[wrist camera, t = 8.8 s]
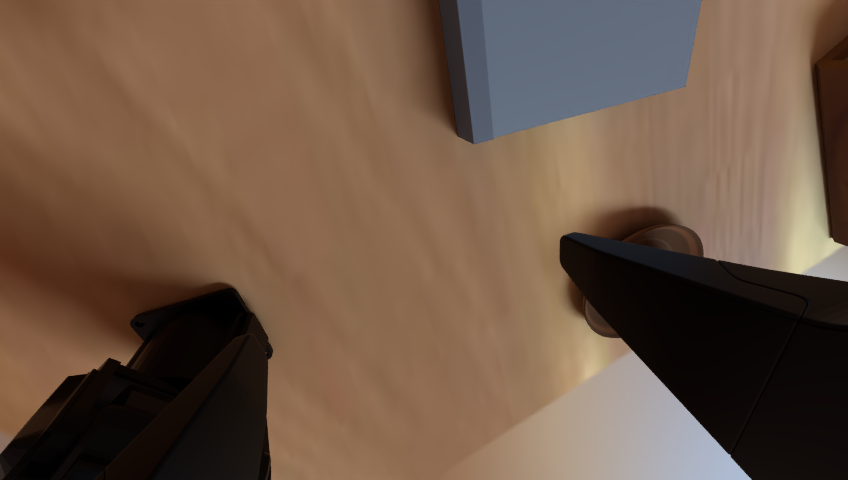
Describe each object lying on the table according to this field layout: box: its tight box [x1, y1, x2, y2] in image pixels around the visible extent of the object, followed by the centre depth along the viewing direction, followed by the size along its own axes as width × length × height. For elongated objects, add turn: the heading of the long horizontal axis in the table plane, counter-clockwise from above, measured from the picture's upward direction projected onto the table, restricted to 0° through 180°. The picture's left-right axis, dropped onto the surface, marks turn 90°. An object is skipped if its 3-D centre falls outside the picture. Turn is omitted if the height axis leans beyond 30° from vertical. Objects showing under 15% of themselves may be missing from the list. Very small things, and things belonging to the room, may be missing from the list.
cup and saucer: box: [583, 224, 704, 338], centre depth 28 cm, size 12×12×6 cm
